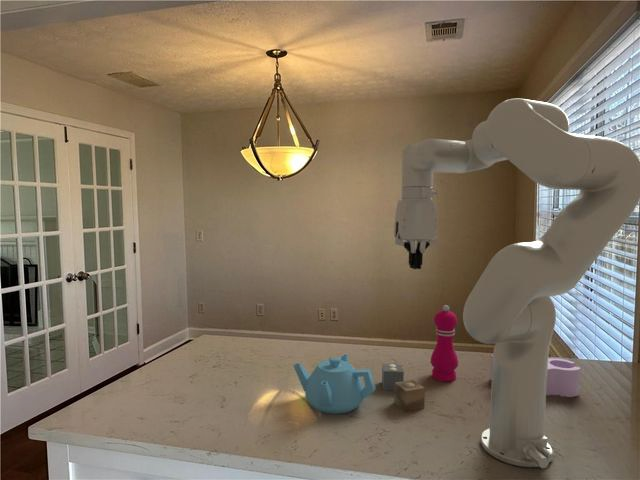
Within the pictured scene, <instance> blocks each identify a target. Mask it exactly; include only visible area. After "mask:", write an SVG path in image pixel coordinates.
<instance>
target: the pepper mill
mask: <svg viewBox="0 0 640 480" xmlns="http://www.w3.org/2000/svg"><path fill="white" fill-rule="evenodd" d="M441 309H442V310H439V311H437V312H436V313H435V315H434V318H433V323H434V325H435V326H436V328H435V334H436V336H437V338H436V339H437V342H436V345H435V347H434V349H433V351H432V354H431V357H430V364H431V366H432V371H431V375H432V377H433V379H434V380H437V381H440V382H453V381H455V380H456V378H457V372H456V369H457V367H458V366H459V359H458V356H457V353H456V350H455V348H454V342H453V339H454V336H455V334H456V333H455V332H456V330H455V327H456V326H457V325H458V318H457V315H456V314H455V313H454V312H452V311H450V306H449V305H447V304H445V305H443V306H442V308H441Z"/></svg>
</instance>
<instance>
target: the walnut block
mask: <svg viewBox="0 0 640 480" xmlns="http://www.w3.org/2000/svg"><path fill="white" fill-rule="evenodd" d="M425 391H426V388H425V387H424V386H423V385H421V384H420V383H419V382H417V381H416V380H414V379H408V380H403V381H401V382H395V390H394V396H393V397H394V401H393V402H394V403H395V405H396V406H397V407H399V408H400V409H401V410H402V411H404V412H405V413H408V412H412V411H413V412H414V411H417V410H419V411H420V410H423V409H425V399H426V398H425V394H426V393H425Z"/></svg>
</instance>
